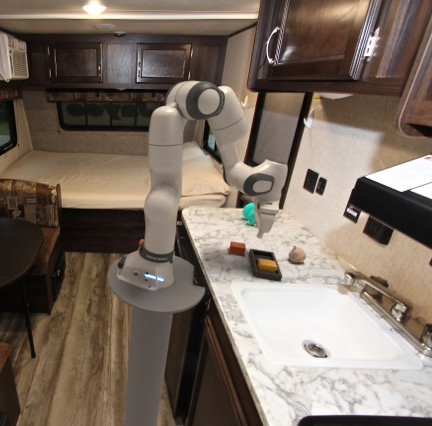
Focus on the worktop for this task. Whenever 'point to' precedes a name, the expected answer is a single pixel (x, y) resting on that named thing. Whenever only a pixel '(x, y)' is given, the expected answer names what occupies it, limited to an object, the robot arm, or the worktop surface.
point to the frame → (266, 255)
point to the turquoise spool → (249, 213)
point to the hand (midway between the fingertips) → (257, 232)
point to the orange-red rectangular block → (237, 248)
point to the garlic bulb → (297, 254)
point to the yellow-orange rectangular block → (266, 266)
